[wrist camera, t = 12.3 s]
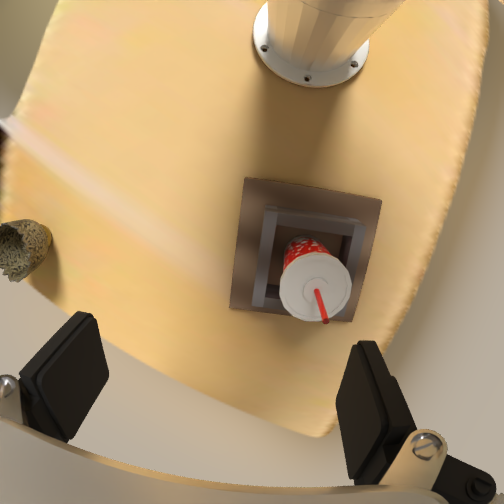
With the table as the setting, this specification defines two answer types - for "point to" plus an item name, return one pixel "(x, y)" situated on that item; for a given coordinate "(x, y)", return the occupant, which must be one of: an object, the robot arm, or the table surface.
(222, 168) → the table surface
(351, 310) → the socket board
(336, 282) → the beverage cup
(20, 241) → the cup
